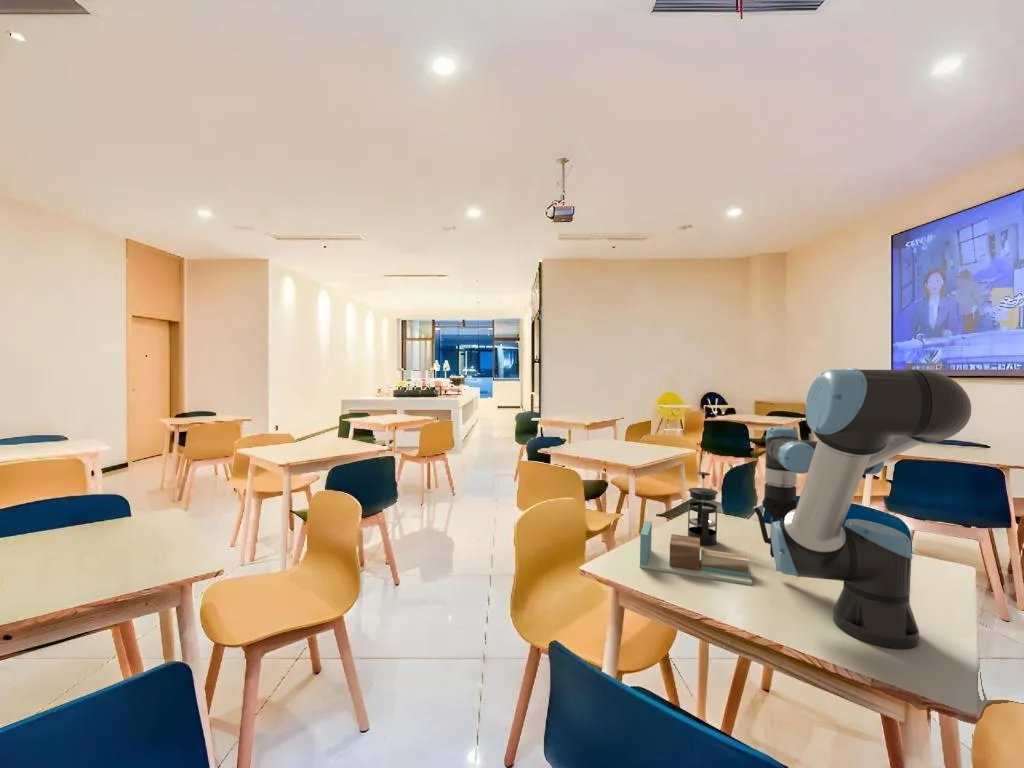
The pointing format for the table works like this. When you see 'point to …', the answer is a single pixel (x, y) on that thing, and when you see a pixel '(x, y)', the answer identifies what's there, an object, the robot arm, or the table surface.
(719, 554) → the light wood bar
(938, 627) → the table surface
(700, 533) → the french press
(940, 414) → the robot arm
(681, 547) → the block
